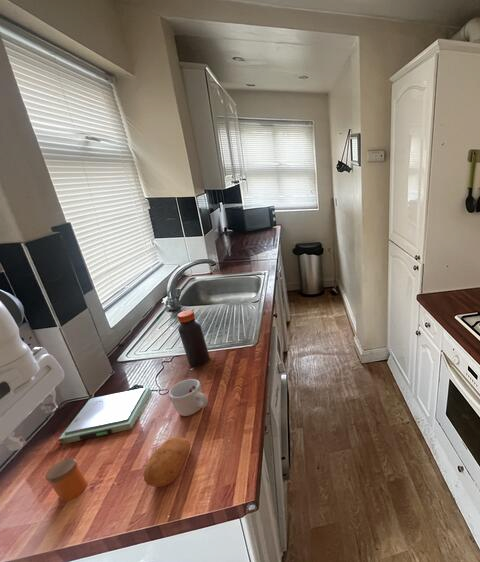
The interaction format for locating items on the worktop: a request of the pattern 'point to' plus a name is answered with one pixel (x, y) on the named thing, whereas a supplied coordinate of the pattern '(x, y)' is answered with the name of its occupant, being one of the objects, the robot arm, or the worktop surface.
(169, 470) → the potato
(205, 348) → the bottle
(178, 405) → the cup
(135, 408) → the scale
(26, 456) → the worktop surface
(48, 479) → the spice jar
